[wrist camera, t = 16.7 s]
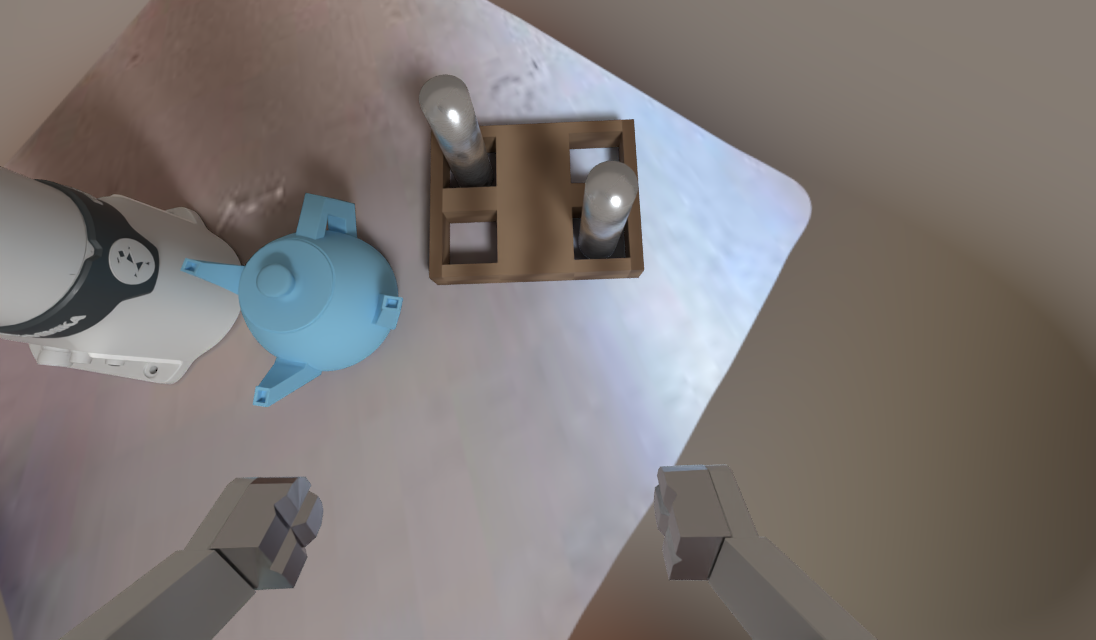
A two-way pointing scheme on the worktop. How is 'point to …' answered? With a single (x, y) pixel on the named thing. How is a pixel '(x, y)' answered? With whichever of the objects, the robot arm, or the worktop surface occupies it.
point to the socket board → (531, 205)
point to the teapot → (311, 297)
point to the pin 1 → (456, 130)
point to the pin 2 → (606, 208)
